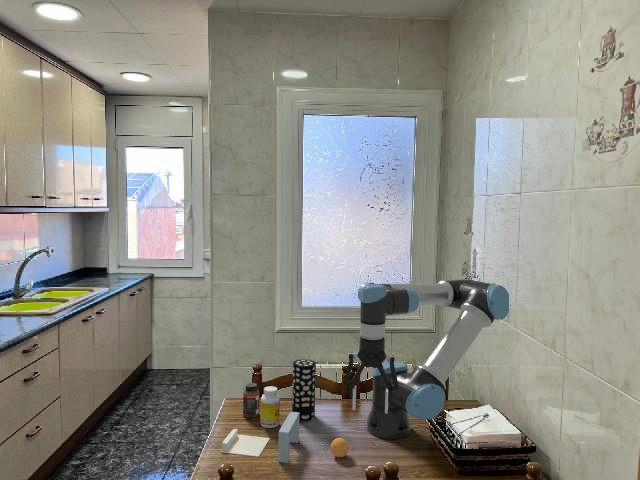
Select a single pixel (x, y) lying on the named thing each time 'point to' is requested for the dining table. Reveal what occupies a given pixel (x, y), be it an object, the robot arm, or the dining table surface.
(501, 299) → the robot arm
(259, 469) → the dining table surface
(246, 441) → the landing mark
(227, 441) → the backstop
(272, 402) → the supplement bottle
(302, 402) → the spotted tube
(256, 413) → the supplement bottle
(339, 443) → the ball
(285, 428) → the bridge
